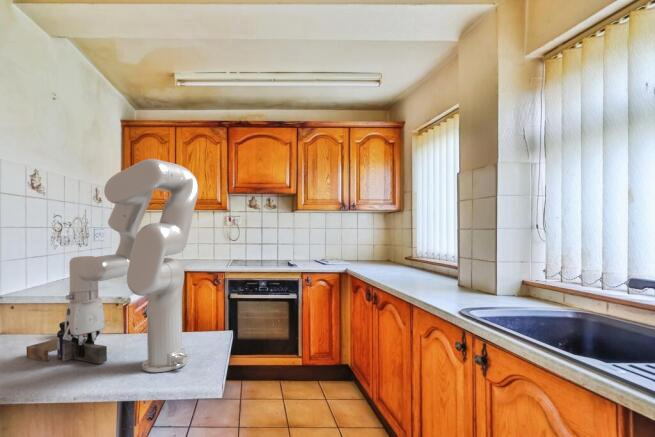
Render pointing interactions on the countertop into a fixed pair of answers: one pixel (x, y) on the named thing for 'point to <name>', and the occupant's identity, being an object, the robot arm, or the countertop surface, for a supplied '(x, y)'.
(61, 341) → the pill bottle
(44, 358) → the bay
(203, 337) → the countertop surface
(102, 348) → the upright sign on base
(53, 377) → the countertop surface
